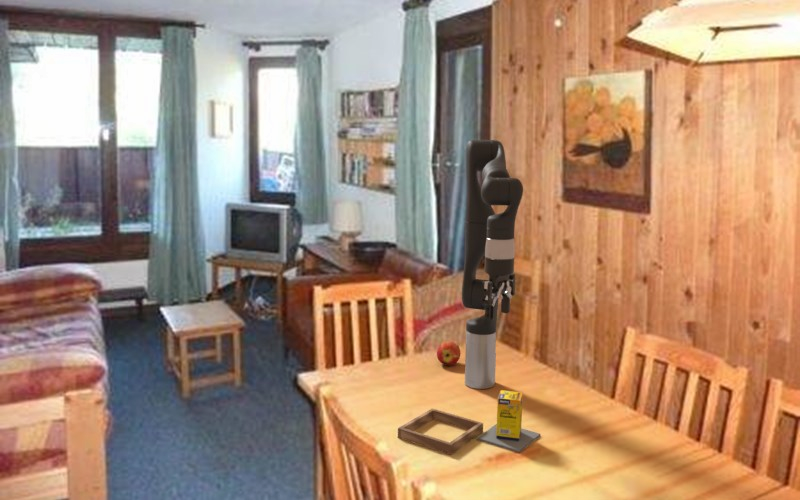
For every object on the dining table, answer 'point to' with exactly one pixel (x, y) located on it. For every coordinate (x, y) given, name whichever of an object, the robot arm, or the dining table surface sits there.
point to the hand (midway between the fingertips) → (497, 316)
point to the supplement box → (509, 415)
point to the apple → (448, 353)
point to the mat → (512, 445)
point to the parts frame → (437, 444)
